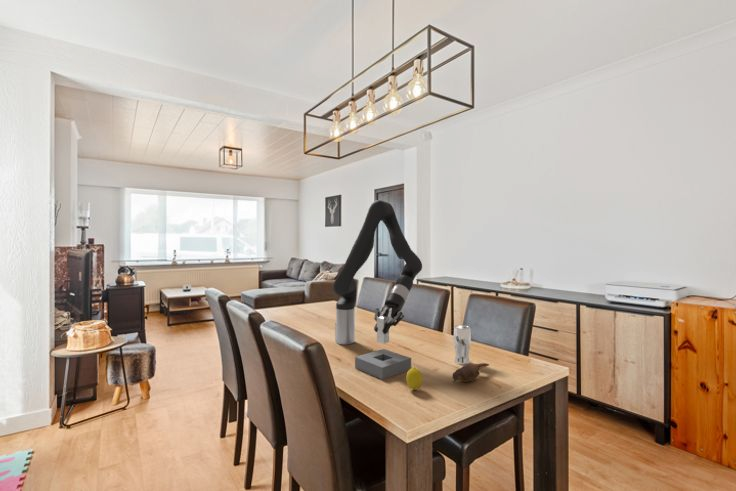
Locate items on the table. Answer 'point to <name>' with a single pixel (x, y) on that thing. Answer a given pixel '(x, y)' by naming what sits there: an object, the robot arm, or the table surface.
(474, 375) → the bird sculpture
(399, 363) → the well block
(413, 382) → the lemon
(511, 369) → the table surface
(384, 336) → the steel bar
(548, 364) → the table surface
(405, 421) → the table surface
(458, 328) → the beer glass
